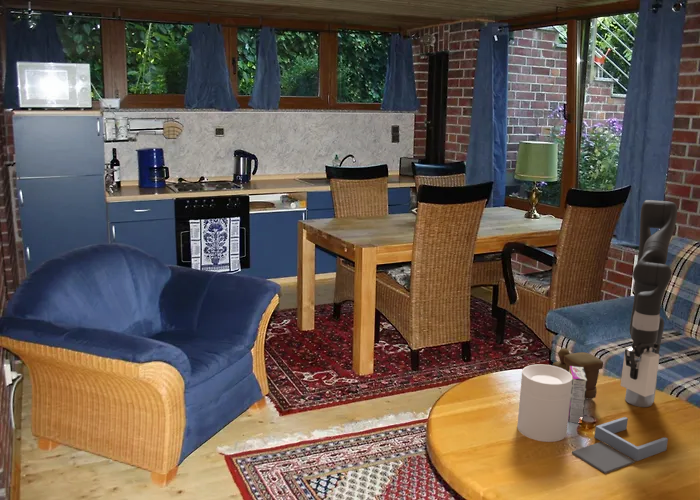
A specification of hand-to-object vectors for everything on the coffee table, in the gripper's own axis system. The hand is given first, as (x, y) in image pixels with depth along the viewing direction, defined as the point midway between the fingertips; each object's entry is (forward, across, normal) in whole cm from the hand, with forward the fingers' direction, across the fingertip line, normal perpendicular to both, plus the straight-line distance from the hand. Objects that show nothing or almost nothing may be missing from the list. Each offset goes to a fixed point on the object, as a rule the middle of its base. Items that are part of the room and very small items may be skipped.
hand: (638, 376), depth 216 cm
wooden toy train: (+24, -11, -35) cm, 43 cm away
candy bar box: (+24, +2, -22) cm, 32 cm away
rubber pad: (+23, +15, +2) cm, 28 cm away
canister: (+24, +19, -20) cm, 36 cm away
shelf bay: (+23, 0, 0) cm, 23 cm away
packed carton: (+4, 0, 0) cm, 4 cm away
